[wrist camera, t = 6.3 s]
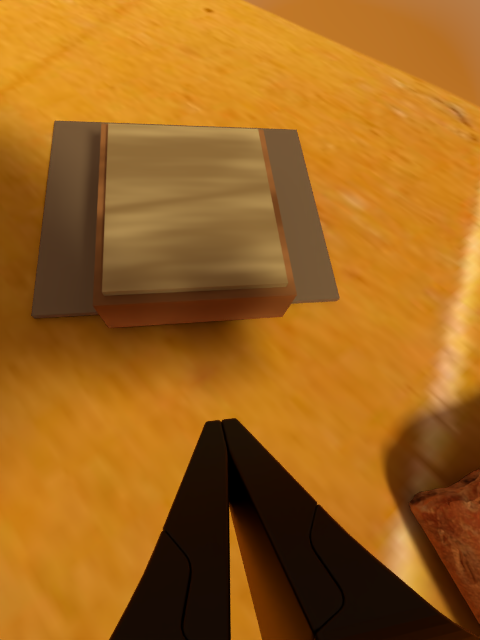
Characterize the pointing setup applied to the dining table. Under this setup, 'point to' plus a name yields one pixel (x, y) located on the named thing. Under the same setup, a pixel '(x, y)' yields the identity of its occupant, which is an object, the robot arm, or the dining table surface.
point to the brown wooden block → (188, 227)
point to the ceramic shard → (455, 532)
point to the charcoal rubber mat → (81, 219)
